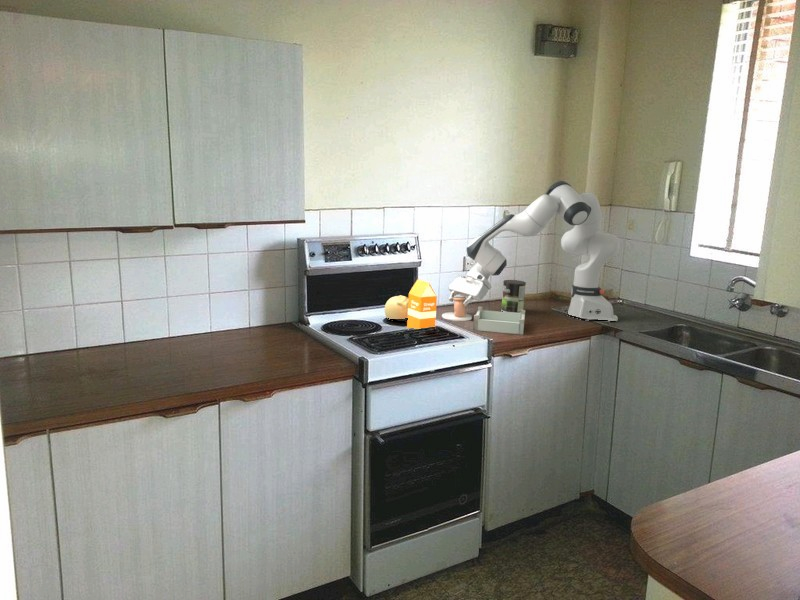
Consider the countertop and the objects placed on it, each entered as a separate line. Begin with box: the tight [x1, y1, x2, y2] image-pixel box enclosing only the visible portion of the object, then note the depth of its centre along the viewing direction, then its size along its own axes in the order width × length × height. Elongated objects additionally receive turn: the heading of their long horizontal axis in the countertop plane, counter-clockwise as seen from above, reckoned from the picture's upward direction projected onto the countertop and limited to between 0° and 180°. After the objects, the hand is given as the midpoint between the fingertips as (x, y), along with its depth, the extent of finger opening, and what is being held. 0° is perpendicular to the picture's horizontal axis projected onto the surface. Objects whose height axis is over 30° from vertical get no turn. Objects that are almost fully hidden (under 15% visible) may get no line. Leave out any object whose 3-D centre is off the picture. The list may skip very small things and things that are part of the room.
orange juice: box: [406, 279, 438, 329], centre depth 267 cm, size 8×9×20 cm
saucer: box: [441, 311, 473, 322], centre depth 295 cm, size 13×13×1 cm
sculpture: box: [384, 294, 409, 320], centre depth 284 cm, size 11×12×11 cm
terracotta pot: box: [453, 296, 468, 317], centre depth 293 cm, size 6×6×8 cm
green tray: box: [472, 305, 526, 335], centre depth 281 cm, size 20×20×6 cm
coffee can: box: [500, 279, 527, 313], centre depth 312 cm, size 10×10×14 cm
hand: (456, 302), depth 293 cm, fingers open, 8 cm apart
